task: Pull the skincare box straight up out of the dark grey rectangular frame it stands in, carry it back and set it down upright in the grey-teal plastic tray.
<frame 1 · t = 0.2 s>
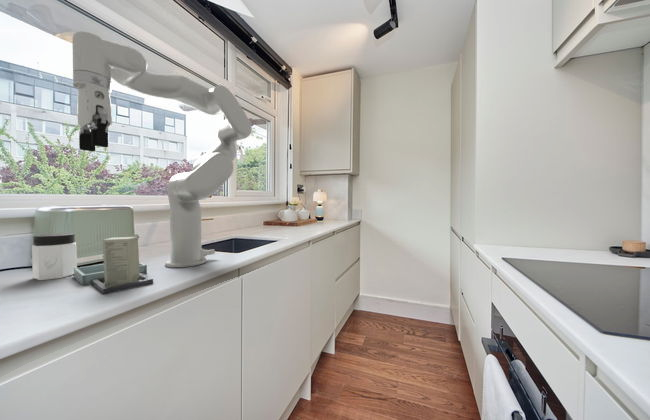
hand: (93, 148, 67), 36 cm above the worktop, tool pointing down, fingers open, 9 cm apart
jar: (55, 276, 72), on the worktop
skincare box: (122, 284, 65), resting in dark grey rectangular frame
tray: (111, 275, 73), on the worktop
dark grey rectangular frame: (122, 283, 65), on the worktop
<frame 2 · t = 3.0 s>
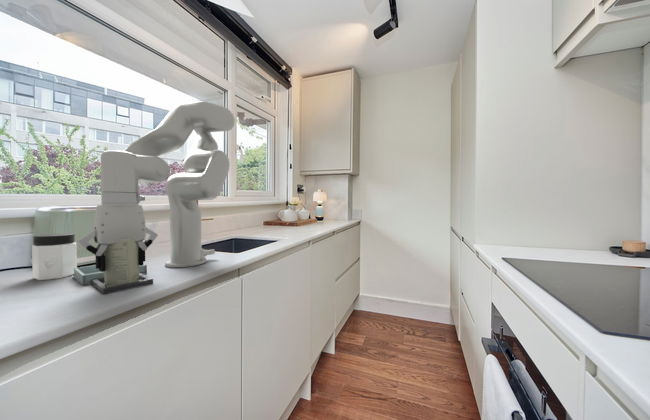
hand: (121, 267, 65), 4 cm above the worktop, tool pointing down, fingers closed on skincare box, 7 cm apart
skincare box: (122, 284, 65), resting in dark grey rectangular frame, touching gripper
everything else where it was.
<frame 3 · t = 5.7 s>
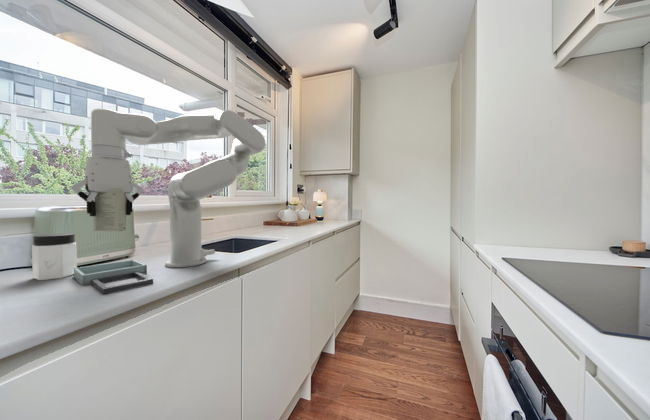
hand: (110, 215, 73), 18 cm above the worktop, tool pointing down, fingers closed on skincare box, 7 cm apart
skincare box: (109, 231, 73), point 13 cm above the worktop, touching gripper
everything else where it was.
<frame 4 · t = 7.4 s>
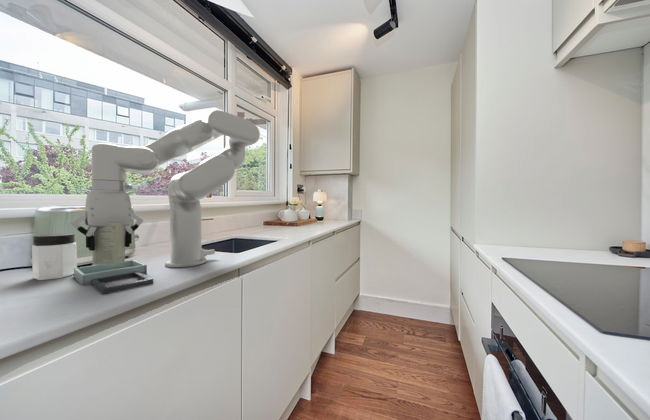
hand: (109, 247, 73), 8 cm above the worktop, tool pointing down, fingers closed on skincare box, 7 cm apart
skincare box: (108, 264, 73), point 3 cm above the worktop, touching gripper
everything else where it was.
when the fingers open (6 cm above the worktop, at t = 8.4 s): skincare box stays where it is, resting on tray.
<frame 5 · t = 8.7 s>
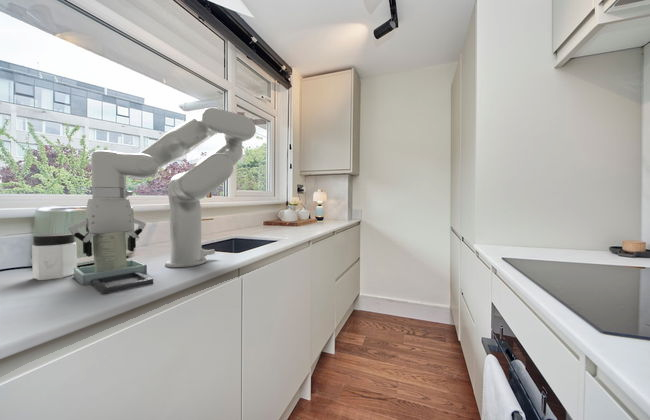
hand: (110, 253, 73), 6 cm above the worktop, tool pointing down, fingers open, 9 cm apart
skincare box: (110, 273, 73), resting on tray
everything else where it was.
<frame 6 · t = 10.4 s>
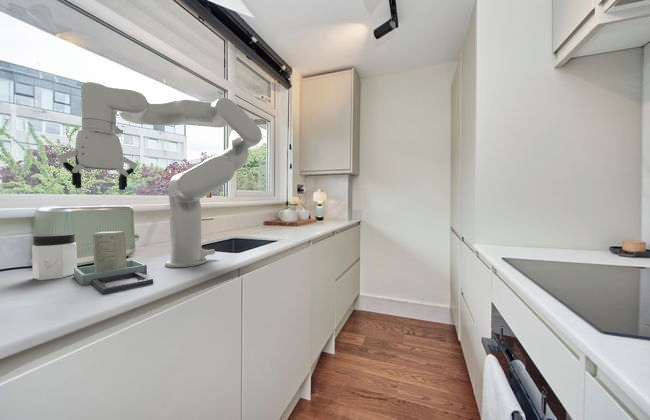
hand: (101, 188, 72), 25 cm above the worktop, tool pointing down, fingers open, 9 cm apart
nothing on the worktop moved.
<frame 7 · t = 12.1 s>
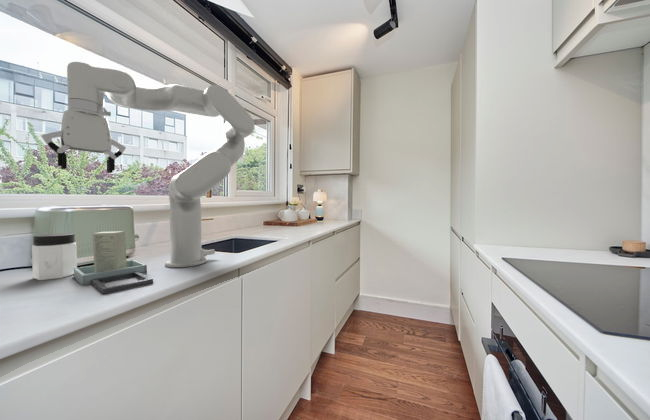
hand: (88, 170, 72), 30 cm above the worktop, tool pointing down, fingers open, 9 cm apart
nothing on the worktop moved.
at the end: skincare box inside the target area on the tray (0.2 cm from its centre), point 0.4 cm above the tray's base; skincare box tilted 0°; the gripper is holding nothing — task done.
